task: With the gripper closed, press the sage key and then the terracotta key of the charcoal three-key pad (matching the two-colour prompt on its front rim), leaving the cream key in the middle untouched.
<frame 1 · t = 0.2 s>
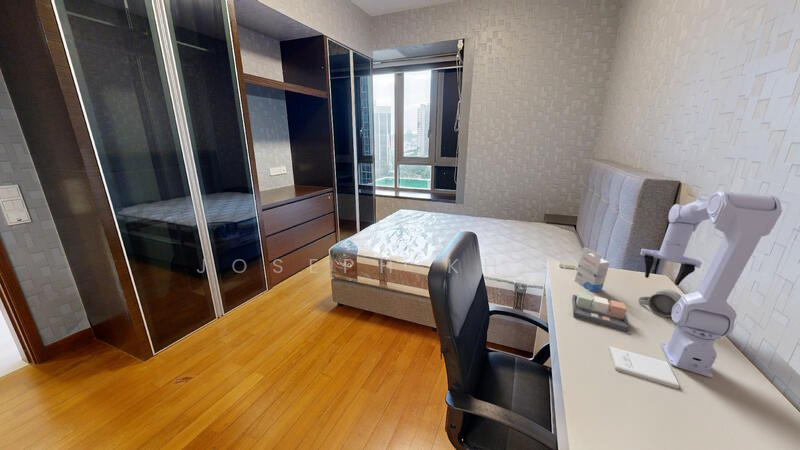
hand: (661, 280, 97), 10 cm above the table, fingers open, 7 cm apart
keypad: (597, 313, 94), on the table
external hard drive: (639, 369, 74), on the table
ceramic mug: (656, 310, 98), on the table
key sage: (583, 300, 95), point 4 cm above the table, slide at 0.0 cm
key terracotta: (617, 308, 91), point 4 cm above the table, slide at 0.0 cm
key cream: (600, 304, 93), point 4 cm above the table, slide at 0.0 cm
ink box: (587, 285, 112), on the table
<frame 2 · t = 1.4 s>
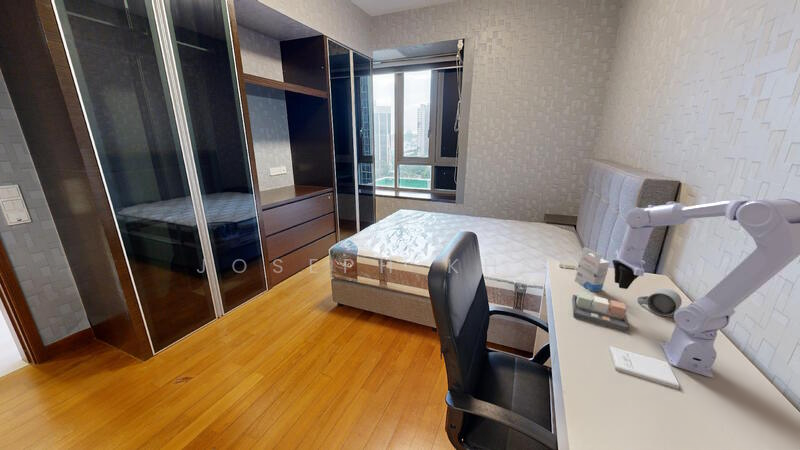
hand: (620, 285, 92), 10 cm above the table, fingers open, 3 cm apart
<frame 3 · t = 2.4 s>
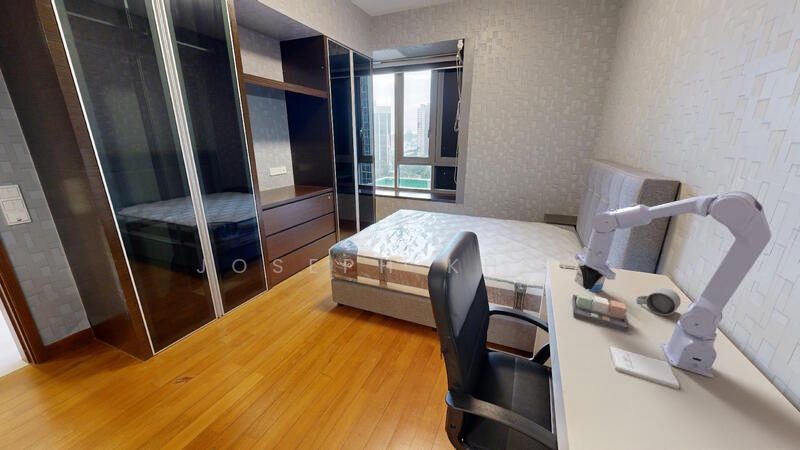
hand: (587, 288, 94), 8 cm above the table, fingers closed
nothing on the table moved.
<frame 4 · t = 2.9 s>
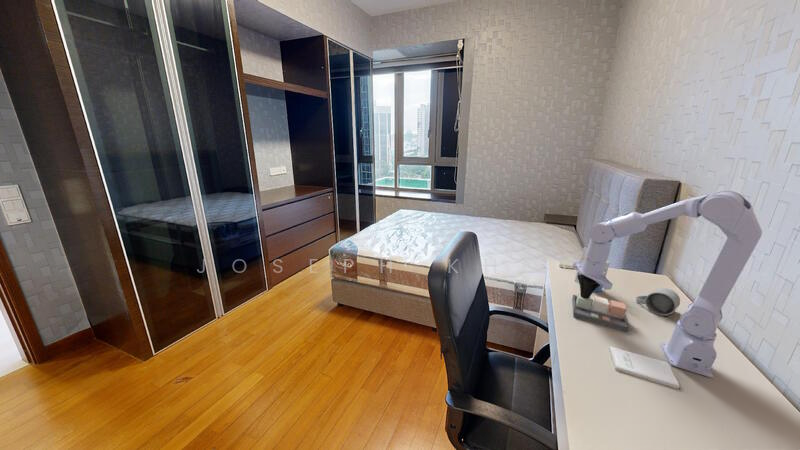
hand: (584, 297, 95), 5 cm above the table, fingers closed, pressing on key sage
key sage: (583, 301, 95), point 3 cm above the table, slide at 0.4 cm, touching gripper
everything else where it was.
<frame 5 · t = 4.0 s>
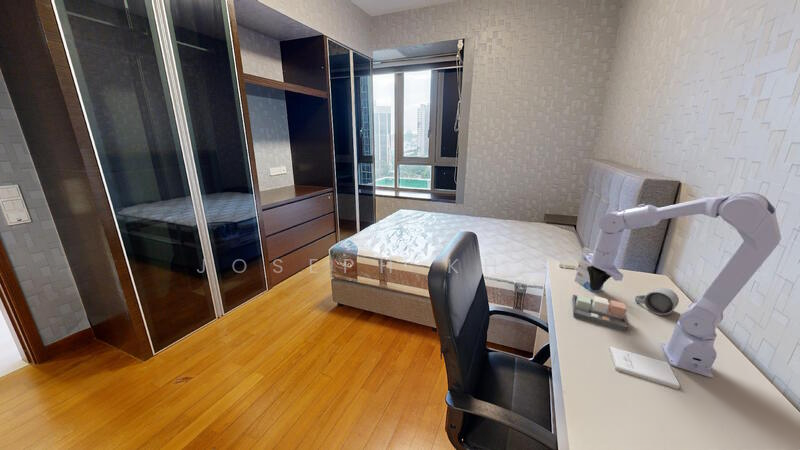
hand: (594, 289, 93), 8 cm above the table, fingers closed
key sage: (583, 303, 96), point 2 cm above the table, slide at 1.2 cm
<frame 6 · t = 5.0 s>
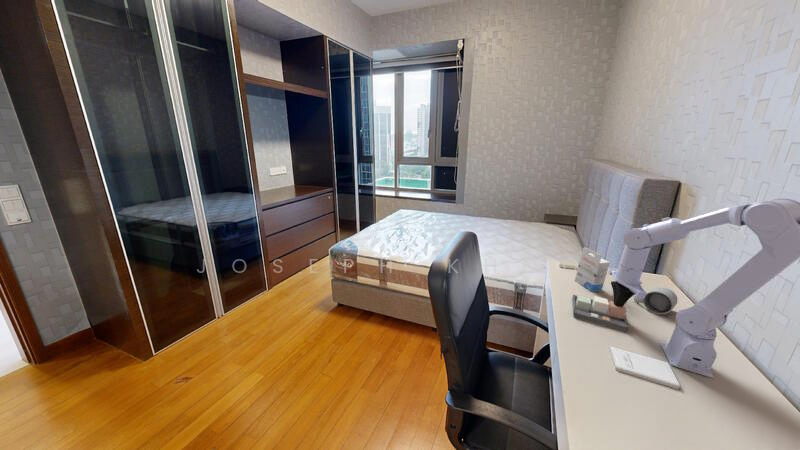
hand: (618, 305, 91), 5 cm above the table, fingers closed, pressing on key terracotta
key terracotta: (616, 309, 91), point 3 cm above the table, slide at 0.3 cm, touching gripper
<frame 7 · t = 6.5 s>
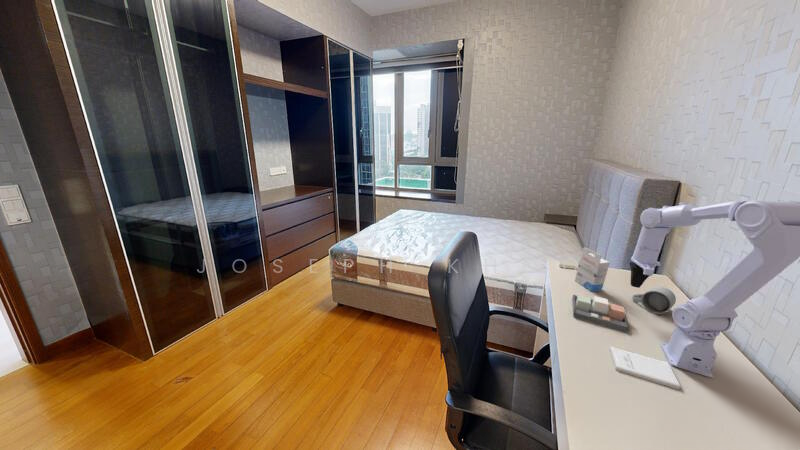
hand: (634, 286, 92), 10 cm above the table, fingers closed
key terracotta: (615, 312, 92), point 2 cm above the table, slide at 1.2 cm
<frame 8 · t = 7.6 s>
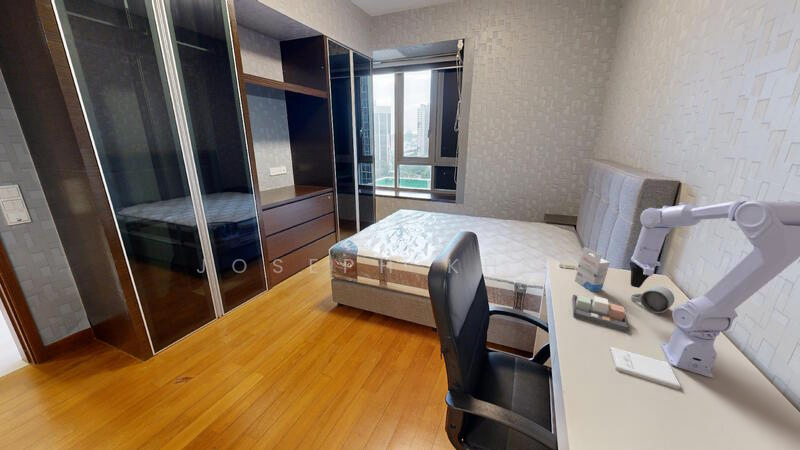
hand: (634, 286, 92), 10 cm above the table, fingers closed
at the end: key sage slide at 1.2 cm; key terracotta slide at 1.2 cm; key cream slide at 0.0 cm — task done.
